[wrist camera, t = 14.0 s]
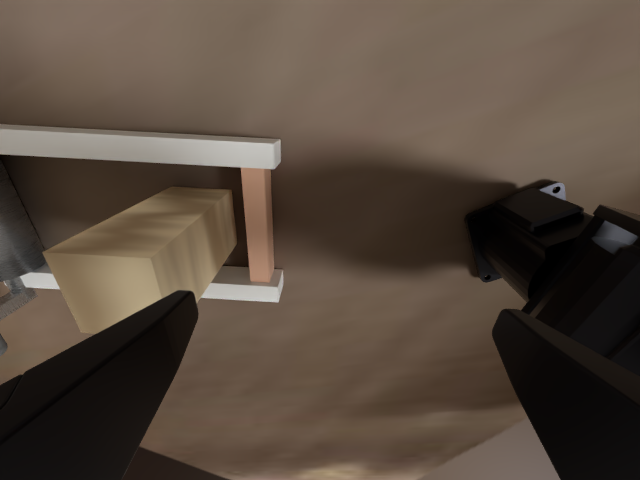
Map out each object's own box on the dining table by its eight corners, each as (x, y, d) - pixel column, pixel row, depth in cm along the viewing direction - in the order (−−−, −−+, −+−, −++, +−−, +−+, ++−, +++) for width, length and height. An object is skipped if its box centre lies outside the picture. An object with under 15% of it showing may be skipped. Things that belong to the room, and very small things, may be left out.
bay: (280, 122, 18) (255, 131, 12) (283, 318, 25) (270, 381, 19) (-65, 104, 18) (-256, 104, 12) (42, 303, 25) (-42, 361, 20)
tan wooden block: (231, 189, 20) (150, 258, 11) (237, 243, 22) (173, 338, 13) (171, 186, 20) (41, 252, 11) (182, 240, 22) (81, 332, 13)
